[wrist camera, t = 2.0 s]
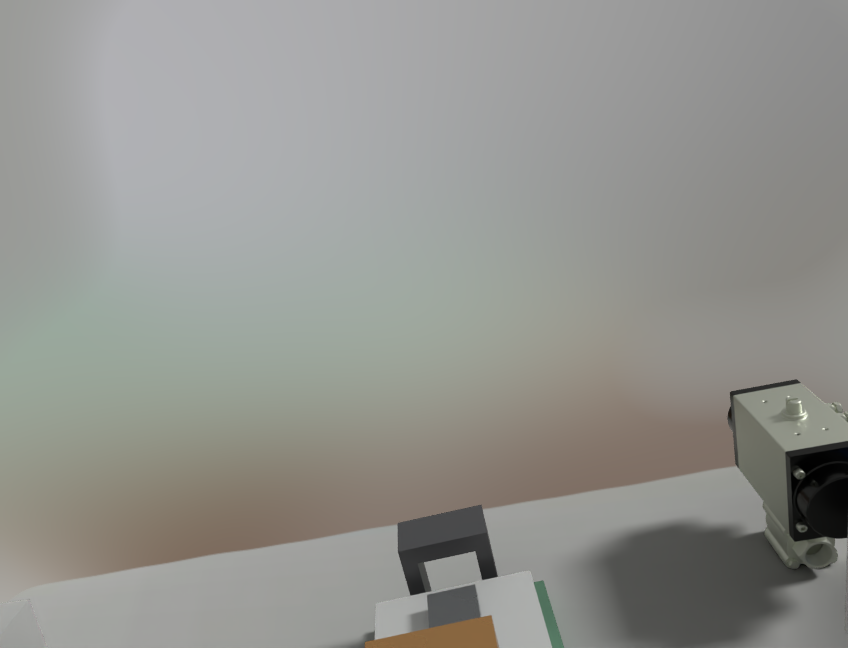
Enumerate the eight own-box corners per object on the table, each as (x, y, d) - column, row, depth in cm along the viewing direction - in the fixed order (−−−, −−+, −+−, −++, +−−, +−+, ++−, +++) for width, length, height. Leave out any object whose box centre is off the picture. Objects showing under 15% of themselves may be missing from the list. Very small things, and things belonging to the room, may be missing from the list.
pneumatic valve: (808, 618, 42) (801, 453, 38) (732, 506, 53) (720, 369, 49) (901, 604, 41) (904, 435, 37) (804, 493, 52) (799, 354, 48)
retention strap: (542, 832, 27) (497, 647, 24) (424, 856, 28) (363, 676, 24) (493, 591, 41) (460, 450, 38) (413, 608, 41) (373, 470, 38)
